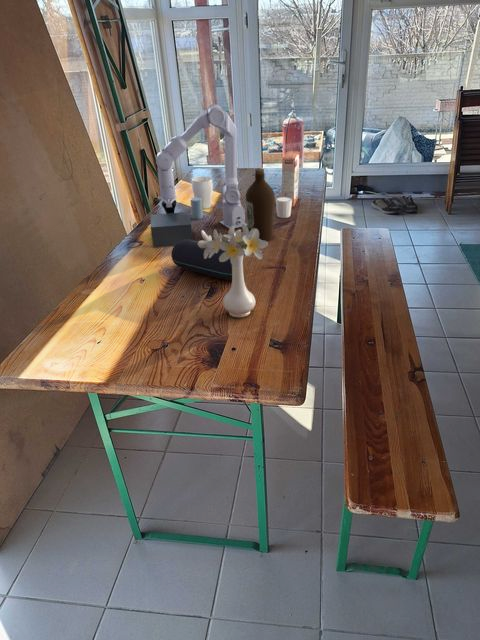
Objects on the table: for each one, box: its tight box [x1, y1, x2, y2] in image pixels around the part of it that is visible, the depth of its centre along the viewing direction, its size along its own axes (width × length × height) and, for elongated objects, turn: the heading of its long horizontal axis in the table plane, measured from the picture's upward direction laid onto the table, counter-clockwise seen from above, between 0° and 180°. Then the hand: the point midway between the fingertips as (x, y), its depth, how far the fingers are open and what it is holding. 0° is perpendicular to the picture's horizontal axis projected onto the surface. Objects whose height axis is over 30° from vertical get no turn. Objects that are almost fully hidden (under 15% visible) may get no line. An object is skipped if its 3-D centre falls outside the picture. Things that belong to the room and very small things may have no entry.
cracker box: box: [281, 150, 301, 208], centre depth 218 cm, size 14×6×21 cm, turn 168°
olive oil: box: [245, 168, 276, 242], centre depth 182 cm, size 11×11×25 cm
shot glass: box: [275, 196, 292, 219], centre depth 208 cm, size 7×7×7 cm
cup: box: [191, 176, 214, 210], centre depth 218 cm, size 9×9×12 cm
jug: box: [190, 197, 204, 221], centre depth 207 cm, size 6×4×8 cm
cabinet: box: [150, 211, 194, 248], centre depth 187 cm, size 15×15×8 cm
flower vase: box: [198, 224, 269, 318], centre depth 134 cm, size 13×18×25 cm
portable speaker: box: [170, 239, 245, 281], centre depth 160 cm, size 25×10×10 cm, turn 59°
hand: (171, 219), depth 197 cm, fingers closed
